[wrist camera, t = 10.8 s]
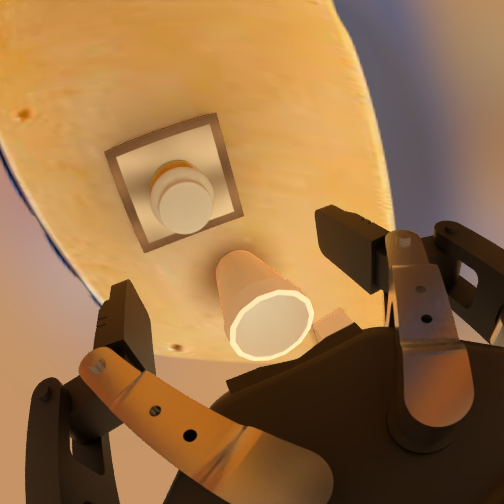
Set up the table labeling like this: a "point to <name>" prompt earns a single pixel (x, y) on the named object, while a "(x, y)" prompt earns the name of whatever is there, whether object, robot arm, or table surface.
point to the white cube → (331, 324)
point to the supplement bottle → (181, 197)
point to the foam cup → (260, 307)
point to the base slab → (161, 151)
